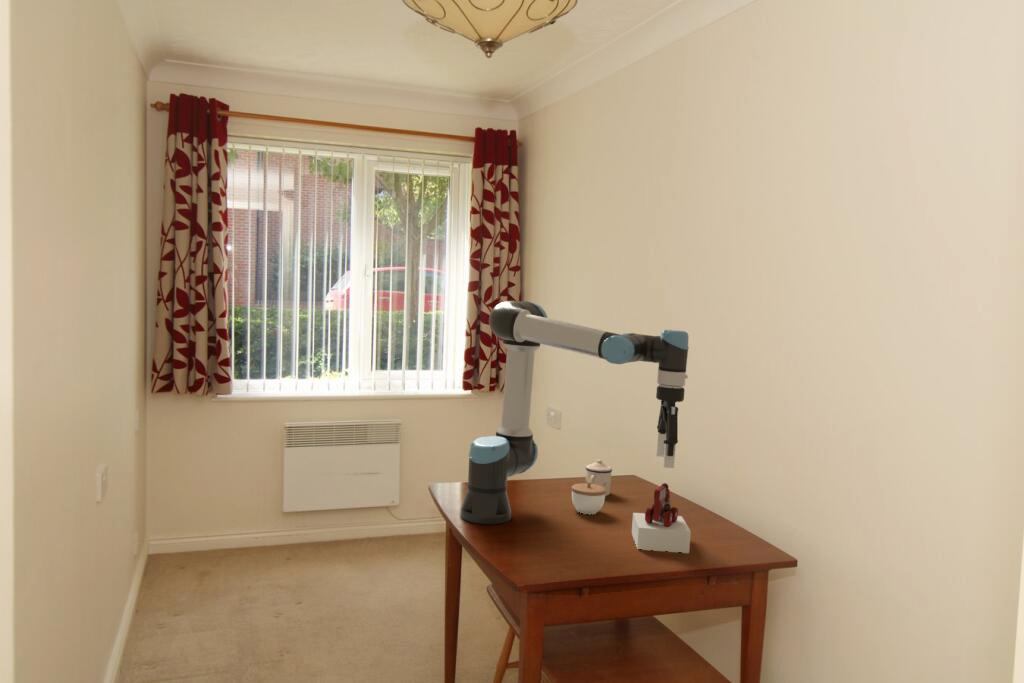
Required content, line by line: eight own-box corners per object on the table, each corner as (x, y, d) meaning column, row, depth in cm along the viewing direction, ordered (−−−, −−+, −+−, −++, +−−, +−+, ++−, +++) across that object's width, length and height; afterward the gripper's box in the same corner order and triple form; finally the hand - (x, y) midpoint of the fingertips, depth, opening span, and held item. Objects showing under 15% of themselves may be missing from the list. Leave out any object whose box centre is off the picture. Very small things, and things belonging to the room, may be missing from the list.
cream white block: (637, 549, 203) (638, 527, 203) (631, 532, 217) (633, 512, 217) (689, 553, 202) (690, 531, 202) (680, 536, 216) (681, 516, 216)
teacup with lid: (589, 488, 265) (591, 455, 264) (614, 492, 261) (616, 459, 260) (576, 495, 254) (579, 461, 253) (602, 500, 250) (604, 465, 249)
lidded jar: (603, 508, 240) (605, 479, 240) (604, 518, 230) (606, 488, 229) (570, 505, 241) (572, 477, 241) (569, 515, 231) (571, 485, 230)
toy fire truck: (679, 518, 213) (682, 483, 212) (667, 530, 202) (669, 492, 202) (655, 514, 216) (658, 478, 216) (642, 525, 205) (644, 487, 205)
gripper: (693, 393, 194) (686, 473, 196) (677, 381, 219) (671, 452, 221) (664, 391, 195) (657, 471, 196) (651, 379, 219) (645, 450, 221)
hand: (664, 461), depth 208 cm, fingers open, 13 cm apart
